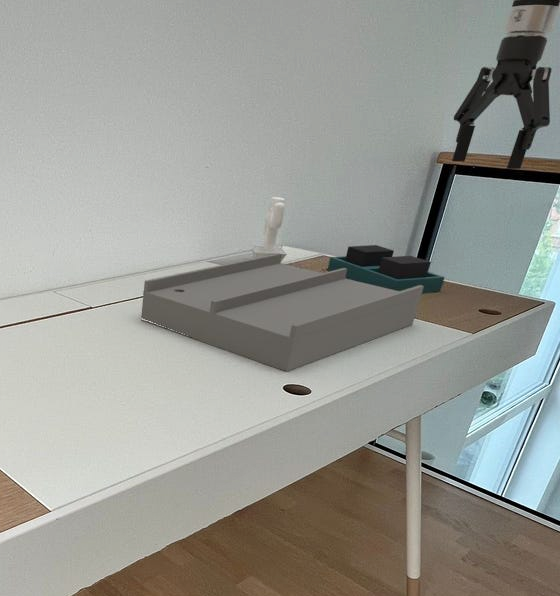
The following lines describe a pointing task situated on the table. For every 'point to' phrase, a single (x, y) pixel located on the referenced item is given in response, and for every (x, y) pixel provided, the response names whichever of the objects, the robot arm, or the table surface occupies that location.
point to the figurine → (271, 230)
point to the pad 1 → (367, 255)
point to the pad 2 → (404, 267)
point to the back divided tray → (384, 277)
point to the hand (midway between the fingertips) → (484, 165)
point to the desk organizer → (277, 310)
